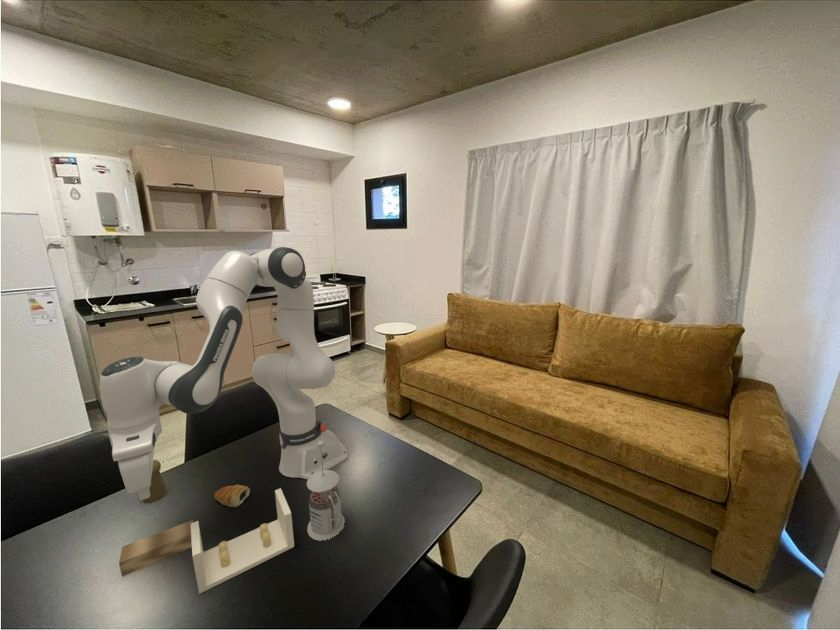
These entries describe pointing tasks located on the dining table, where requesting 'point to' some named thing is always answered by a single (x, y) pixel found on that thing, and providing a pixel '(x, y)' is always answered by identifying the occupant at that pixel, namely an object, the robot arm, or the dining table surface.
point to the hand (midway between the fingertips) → (146, 484)
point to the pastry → (232, 495)
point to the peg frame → (242, 548)
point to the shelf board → (155, 548)
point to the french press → (324, 504)
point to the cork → (156, 484)
